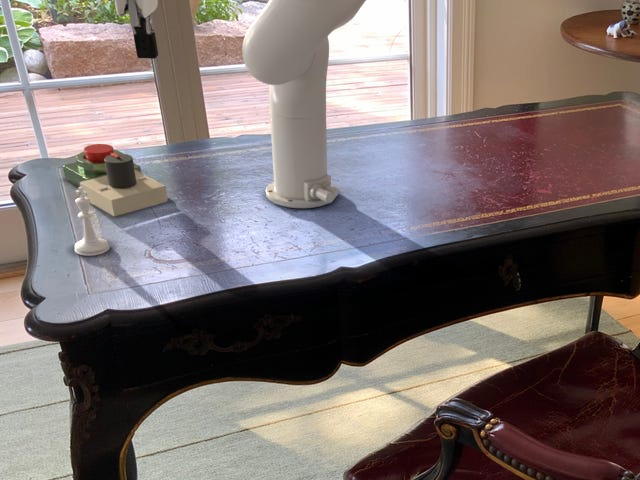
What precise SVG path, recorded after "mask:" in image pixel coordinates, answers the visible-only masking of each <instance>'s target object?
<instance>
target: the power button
mask: <svg viewBox="0 0 640 480" xmlns="http://www.w3.org/2000/svg"><path fill="white" fill-rule="evenodd" d="M114 150H115V149H114V146H112V145H111V144H107V143H94V144H89V145H86V146H84V148H83V151H84V153H85V158H86V160H88V161H95V162H97V161H105V160H104V159H105V157H107V156H109V155H111V153H114Z"/></svg>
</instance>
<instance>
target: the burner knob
mask: <svg viewBox="0 0 640 480" xmlns="http://www.w3.org/2000/svg"><path fill="white" fill-rule="evenodd" d="M104 160H105V166H106V171H107V177H108V182H109V185H110V186H111V187H113V188H129V187H132V186H134V185H136V176H135V170H134V164H133V163H134V157H133V156H132V155H130V154H126V153H123V154H115V153H111V155H109V156H107V157H105V159H104Z"/></svg>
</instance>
